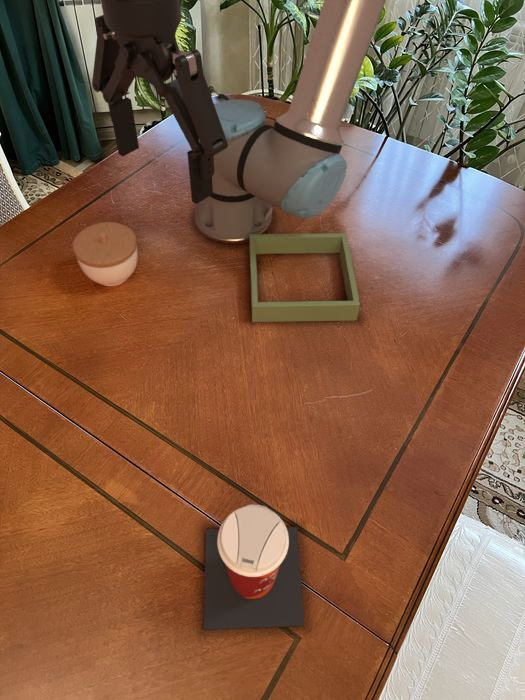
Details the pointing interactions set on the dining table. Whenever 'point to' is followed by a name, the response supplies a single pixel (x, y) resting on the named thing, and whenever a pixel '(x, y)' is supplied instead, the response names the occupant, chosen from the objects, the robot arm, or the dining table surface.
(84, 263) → the trinket box
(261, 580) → the paper cup
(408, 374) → the dining table surface
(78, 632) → the dining table surface
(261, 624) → the mat
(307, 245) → the square frame
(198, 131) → the robot arm
